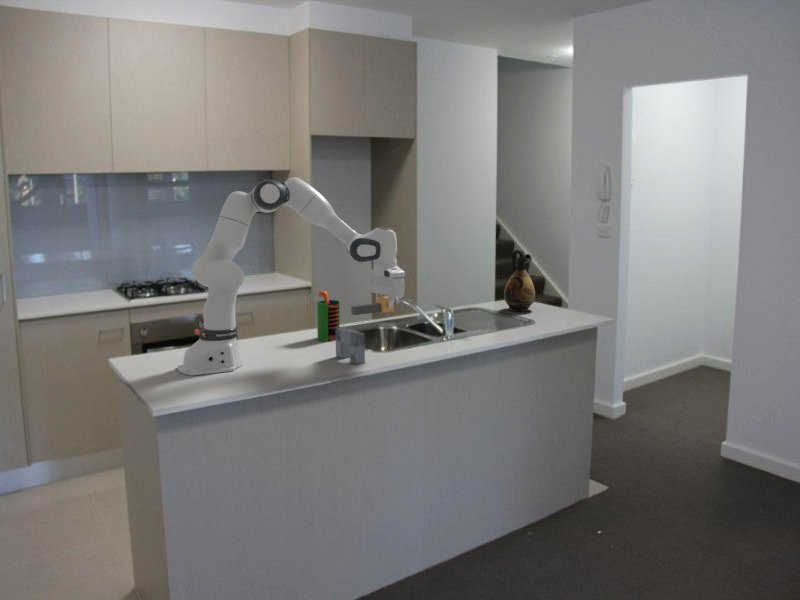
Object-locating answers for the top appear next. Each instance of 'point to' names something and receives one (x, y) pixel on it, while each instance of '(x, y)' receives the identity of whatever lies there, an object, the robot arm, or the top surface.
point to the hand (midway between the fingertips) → (385, 306)
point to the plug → (372, 307)
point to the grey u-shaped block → (350, 345)
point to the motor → (327, 317)
